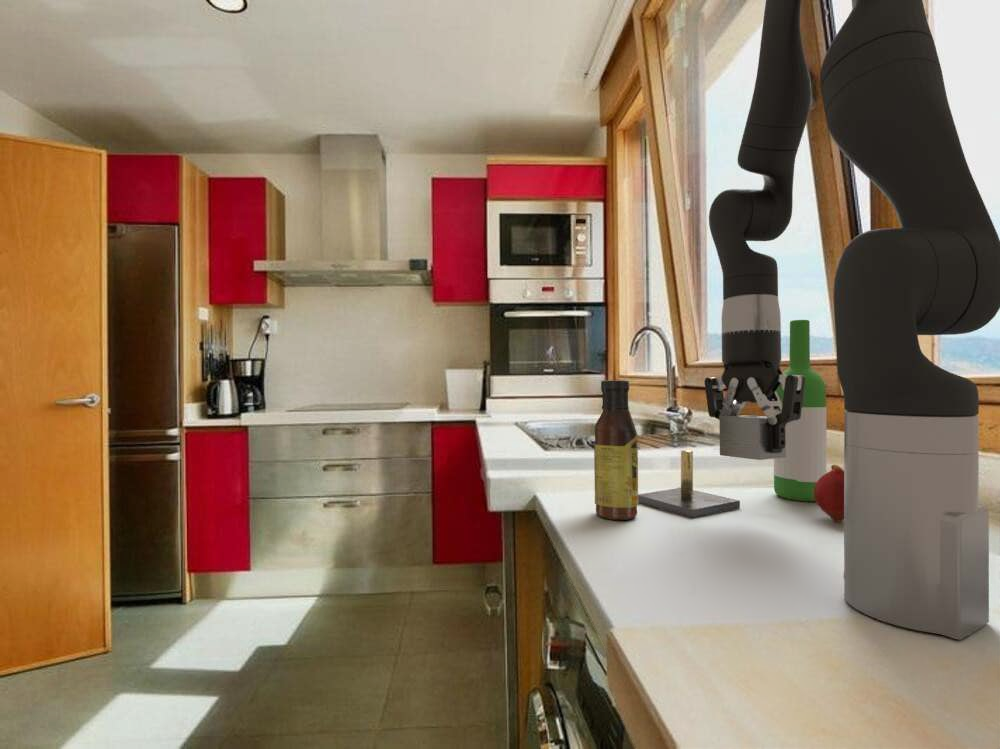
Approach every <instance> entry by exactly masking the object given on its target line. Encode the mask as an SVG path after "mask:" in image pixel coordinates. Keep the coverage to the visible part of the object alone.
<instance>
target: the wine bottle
mask: <svg viewBox="0 0 1000 749" xmlns="http://www.w3.org/2000/svg"><path fill="white" fill-rule="evenodd" d="M810 333H811V332H810V320H809V319H794V320H790V322H789V366H788V368H787V369H786V370H784V371H783V372H782V373H783V375H802V376H804V377H805V386H804V394H803V402H802V410H801V417H800V419H799V420H794V421H791V422H788V423H787V424H786V426H785V429H786V457H784V458H774V459H773V488H774V493H775V495H777V496H779V497H780V498H783V499H786V500H790V501H798V502H816V501H815V499H814V493H813V491H814V486H815V484H816V482H817V481H818V480H819V479H820V478H821V477H822V476H823V475H825V474H826V473H827V388H826V383H825V381H824V379H823V377H822V376H821V375H820V374H819V373H818V372H817V371H816V370H814V369H813V368H812V367H811V362H810V361H811V353H810V352H811V348H810V345H811V342H810V341H811V339H810V338H811V337H810V336H811V335H810ZM776 392H777V394H778V396H779V398H780V400H781V403H782V405H783V396H784V390H783V389H782V384H780V386H779V387H778V388H777V390H776Z"/></svg>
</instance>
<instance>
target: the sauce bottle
mask: <svg viewBox="0 0 1000 749" xmlns="http://www.w3.org/2000/svg"><path fill="white" fill-rule="evenodd" d="M600 382H601V383H600V390H601V393H602V406H601V409H602V412H601V414H600V416H599V418H598V419H597V421H596V423H595V426H594V446H593V449H594V453H593V454H594V504H595V513H596V515H597V516H598V517H601V518H603V519H607V520H615V521H616V520H622V521H623V520H624V521H627V520H631V519H634V518H635V517H637V515H638V507H639V506H638V505H639V503H638V494H639V468H638V467H639V463H638V462H639V457H638V455H639V454H638V452H639V450H638V442H639V441H638V431H637V429H636V426H635V423H634V421H633V417H632V415H631V411H630V409H629V407H630V406H629V391H630V382H629V380H626V379H625V380H624V379H622V380H621V379H620V380H617V379H616V380H615V379H613V380H612V379H611V380H607V379H606V380H601V381H600Z"/></svg>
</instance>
